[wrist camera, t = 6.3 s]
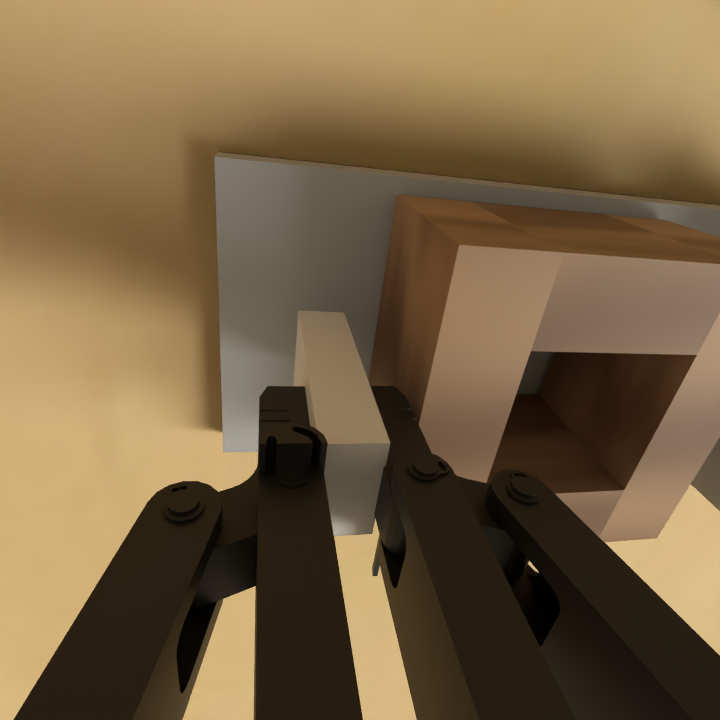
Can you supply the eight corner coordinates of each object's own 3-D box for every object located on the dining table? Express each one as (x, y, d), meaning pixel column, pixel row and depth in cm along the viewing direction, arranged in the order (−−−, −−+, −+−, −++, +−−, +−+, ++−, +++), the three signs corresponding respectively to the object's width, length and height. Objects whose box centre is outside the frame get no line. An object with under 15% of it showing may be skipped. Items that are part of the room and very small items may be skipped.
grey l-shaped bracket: (218, 152, 14) (161, 227, 7) (778, 211, 19) (1138, 298, 11) (225, 433, 20) (199, 661, 12) (662, 426, 24) (850, 586, 16)
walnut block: (396, 194, 14) (459, 244, 10) (665, 219, 17) (822, 271, 12) (358, 444, 19) (388, 558, 15) (570, 439, 21) (656, 538, 17)
